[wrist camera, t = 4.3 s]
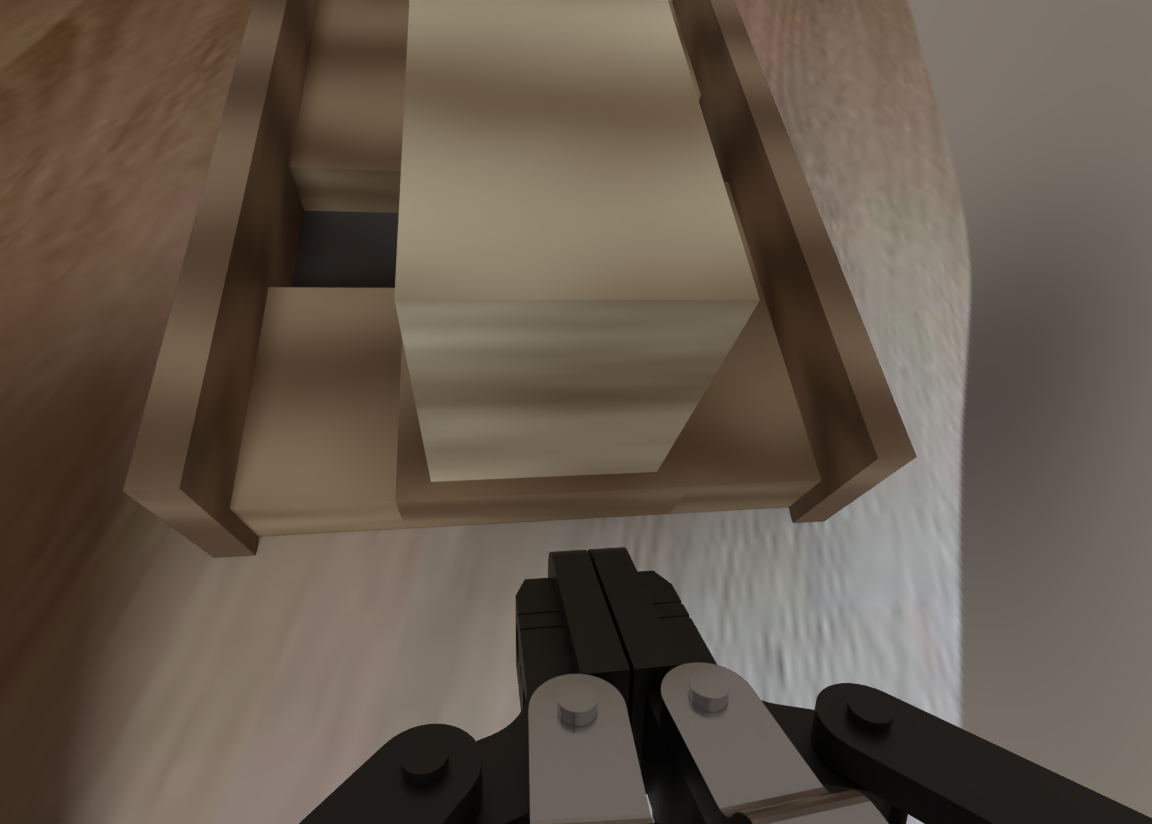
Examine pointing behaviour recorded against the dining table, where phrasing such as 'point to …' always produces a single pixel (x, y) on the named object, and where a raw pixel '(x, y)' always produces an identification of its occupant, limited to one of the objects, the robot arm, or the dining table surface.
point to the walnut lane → (373, 337)
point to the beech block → (559, 238)
